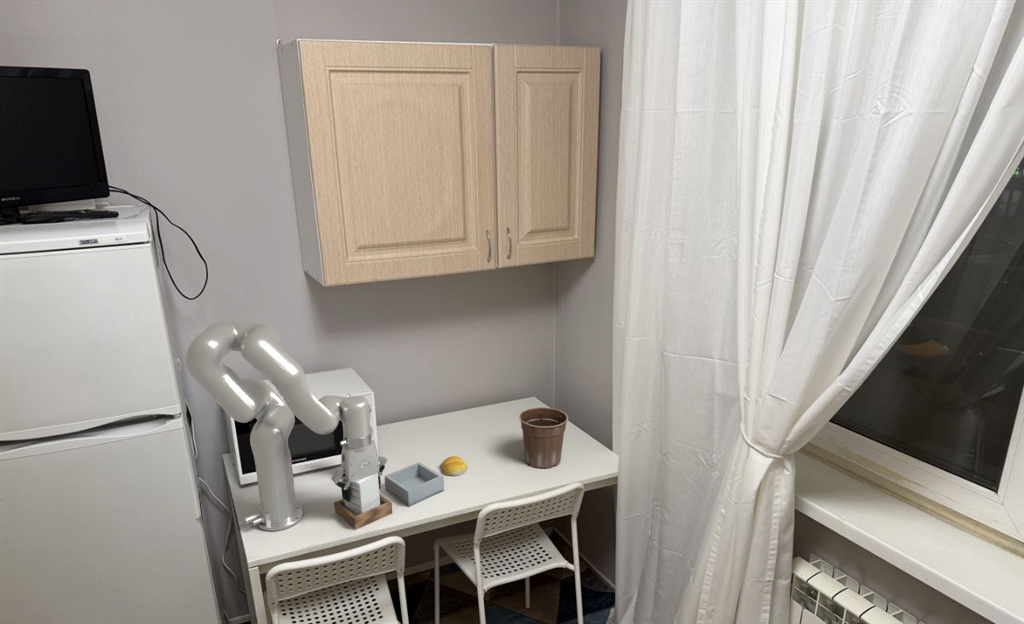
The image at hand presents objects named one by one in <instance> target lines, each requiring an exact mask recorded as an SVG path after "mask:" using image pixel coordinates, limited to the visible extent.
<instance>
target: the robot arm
mask: <svg viewBox="0 0 1024 624" xmlns="http://www.w3.org/2000/svg"><path fill="white" fill-rule="evenodd" d="M280 344H281V336H280V334H279V332H278V331H277V330H276V329H275V328H274V327H273V326H270V325H266V324H261V323H250V322H238V321H236V322H235V321H219V322H215V323H213V324H211V325H210V326H208V327H207V328H206V329H204V330H203V331H202V332H200V333H198V335H197V336H196V337H195V338H194V339H192V341H191V343H190V345H189V346H188V348H187V350H186V354H185V367H186V369H187V372H188V374H189V375H190V376H191V378H192V379H193V380H195V381H196V383H197V384H199V386H201V388H203V390H205V391H206V392H207V394H209V396H211V398H212V400H213V401H215V402H216V403H217V404H218V405H219V406H220V407H221V408H222V409H223V410H224V411H225V412H226V413H227V415H228V416H230V418H232V420H234V421H236V422H238V423H243V424H245V423H248V422H251V421H252V420H254V419H256V420H257V421H256V422H255V424H254V425H253V428H252V429H251V432H250V437H249V441H250V447H251V450H252V454H253V459H254V463H255V464H254V465H255V471H256V476H257V477H256V479H257V487H258V495H259V501H260V502H259V503H260V506H259V507H257V511H255V512H254V513H253V514H250V515H247V516H245V517H243V520H244V523H245V525H249V524H250V523H251V524H252V525H253V526H256V525H257V527H258V528H259V529H261V530H264V531H269V532H277V531H282V530H286V529H289V528H291V527H293V526H295V525H296V524H298V523H299V522H300V521H301V520H302V519H303V516H304V511H303V508H302V507H301V506H299V505H298V504H297V499H296V489H295V480H294V479H295V477H294V472H293V471H294V470H293V461H292V456H291V451H290V447H289V436H290V435H291V432H292V430H293V429H294V427H295V422H296V419H295V417H296V418H297V419H298V420H299V421H300V422H301V423H302V424H303V425H305V426H306V427H307V428H308V429H309V430H311V431H312V432H314V433H315V434H319V435H322V436H323V435H329V434H331V433H333V432H334V431H335V430H336V429H337V427H338V425H339V423H340V421H341V422H342V431H343V433H342V434H343V436H342V440H340V441H339V444H340V446H341V447H342V448H341V455H340V457H341V458H340V459H341V460H340V463H341V464H340V469H339V470H338V471H337V472H336V473H335V474H333V475H332V477H331V481H332V482H333V483H334V485H335V486H337V487H338V488H340V489H341V496H342V499H345V500H346V501H347V502H350V501H351V498H350V489H349V488H348V487H349V485H350V483H354V482H356V481H359V480H362V479H364V478H367V477H369V476H372V475H374V474H376V473H378V483H379V490H381V484H382V483H381V476H382V475H383V471H384V470H385V468H386V463H387V461H388V458H386V457H385V456H380V455H379V453H378V449H377V445H376V443H375V440H373V439H372V431H371V430H372V429H371V418H370V417H371V416H370V406H369V405H370V404H369V400H368V399H367V397H364V396H362V395H361V396H360V395H353V396H339V395H330V394H329V395H324V396H322V397H320V398H319V399H318V398H317V397H315V394H313V392H312V391H311V389H310V387H309V386H308V384H307V379H306V375H305V372H304V369H303V367H302V365H300V363H298V362H297V361H296V360H295V359H294V358H293V357H292V356H291V355H290V354H289V353H287V352H286V350H284V349H283V348H282V347H281V346H280ZM233 351H234V352H240V354H241V357H243V359H244V360H245V361H247V363H248V364H249V365H251V366H252V367H253V368H254V370H257V372H259V373H260V374H261V375H262V376H263V377H264V378H265V379H267V380H268V382H270V384H272V385H273V386H274V387H275V388H276V389H277V390H278V391H279V394H280V395H281V397H280V396H279V395H278V393H277V392H276V391H275V390H274V388H272V387H271V386H270V385H269V384H268V382H266V381H264V380H262V379H260V378H258V377H246V378H244V379H242V378H241V377H240V376H239V375H238V374H237V373H236V371H235V370H234V369H232V368H230V367H229V366H227V365H226V364H224V363H223V362H222V361H223V358H225V356H226V355H228V353H230V352H233ZM341 477H343V479H341V480H340V478H341Z"/></svg>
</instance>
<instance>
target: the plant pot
mask: <svg viewBox="0 0 1024 624" xmlns="http://www.w3.org/2000/svg"><path fill="white" fill-rule="evenodd" d="M518 418H519V421H520V426H521V430H522V437H523V438H522V439H523V449H524V451H523V452H524V460H525V463H526V464H529V466H531V467H533V468H537V469H550V468H552V467H554V466H555V467H556V466H558V465H559V464H560V463H561V461H562V452H563V443H564V436H565V431H566V428H567V422H568V420H569V416H568V415H567V413H566V412H564V411H563V410H560V409H559V408H558V409H557V408H552V407H544V406H543V407H540V406H539V407H531V408H528V409H526V410H523V411H522V412H520V414H519V416H518Z"/></svg>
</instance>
